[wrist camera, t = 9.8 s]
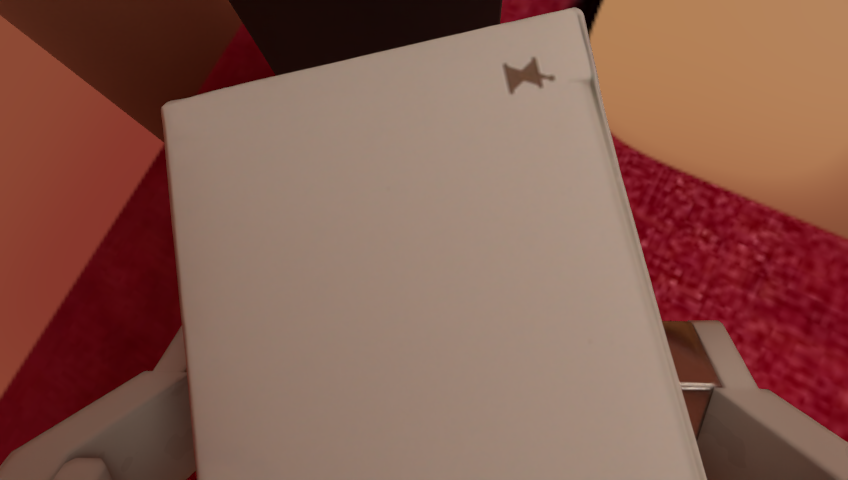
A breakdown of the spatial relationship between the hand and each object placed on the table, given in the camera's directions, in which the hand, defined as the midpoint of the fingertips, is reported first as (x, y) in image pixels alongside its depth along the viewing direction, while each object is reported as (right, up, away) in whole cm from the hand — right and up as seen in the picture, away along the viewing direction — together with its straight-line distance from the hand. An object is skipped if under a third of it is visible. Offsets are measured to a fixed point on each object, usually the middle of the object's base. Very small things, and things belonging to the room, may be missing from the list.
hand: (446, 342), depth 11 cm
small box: (+1, -2, +6) cm, 6 cm away
